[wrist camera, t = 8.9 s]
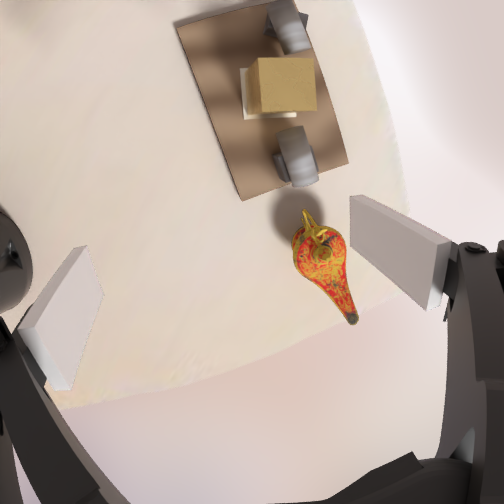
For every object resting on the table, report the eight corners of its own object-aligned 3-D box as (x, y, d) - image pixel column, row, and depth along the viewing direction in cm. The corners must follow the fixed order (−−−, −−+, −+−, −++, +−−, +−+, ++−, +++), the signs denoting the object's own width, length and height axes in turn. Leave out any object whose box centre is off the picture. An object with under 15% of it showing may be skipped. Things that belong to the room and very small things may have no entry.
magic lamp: (316, 311, 46) (346, 358, 36) (261, 208, 38) (285, 240, 28) (356, 287, 45) (392, 329, 35) (310, 181, 38) (349, 203, 28)
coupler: (247, 115, 32) (262, 112, 25) (244, 72, 30) (257, 57, 23) (291, 113, 33) (317, 110, 25) (288, 71, 31) (313, 58, 23)
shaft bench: (177, 31, 28) (173, 14, 23) (290, 2, 28) (306, -16, 23) (240, 199, 37) (248, 212, 32) (344, 162, 37) (367, 169, 32)
